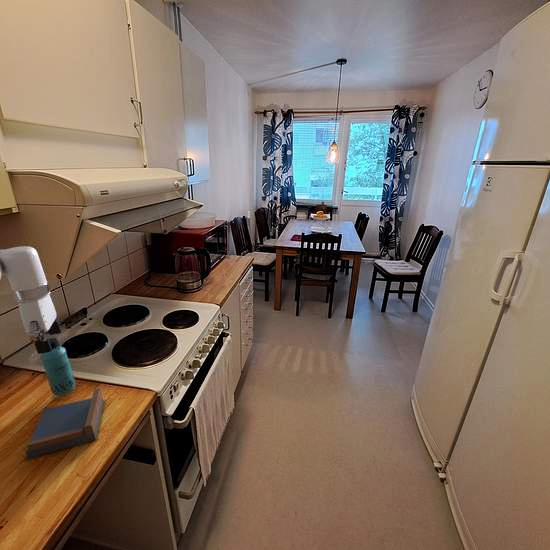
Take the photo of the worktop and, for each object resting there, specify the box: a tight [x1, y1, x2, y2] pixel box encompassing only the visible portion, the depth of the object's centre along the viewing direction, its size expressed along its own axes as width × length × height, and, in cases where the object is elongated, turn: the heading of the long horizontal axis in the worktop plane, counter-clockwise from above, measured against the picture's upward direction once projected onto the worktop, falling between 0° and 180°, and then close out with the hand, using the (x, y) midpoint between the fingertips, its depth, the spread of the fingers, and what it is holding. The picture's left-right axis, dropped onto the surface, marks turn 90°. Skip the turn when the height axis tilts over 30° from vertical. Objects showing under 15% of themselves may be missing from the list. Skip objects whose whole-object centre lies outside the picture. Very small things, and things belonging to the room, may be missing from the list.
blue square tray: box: [24, 387, 105, 459], centre depth 80 cm, size 15×14×6 cm
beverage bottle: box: [39, 337, 77, 397], centre depth 89 cm, size 6×7×20 cm
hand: (50, 342), depth 85 cm, fingers open, 9 cm apart
